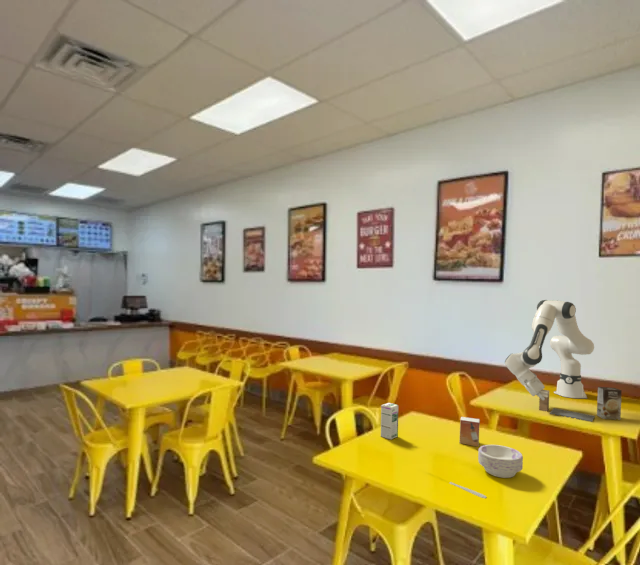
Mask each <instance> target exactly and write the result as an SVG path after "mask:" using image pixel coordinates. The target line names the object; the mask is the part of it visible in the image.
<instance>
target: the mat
mask: <svg viewBox="0 0 640 565" xmlns="http://www.w3.org/2000/svg"><path fill="white" fill-rule="evenodd" d="M549 414H550V415H554V414H555V415H554V416H559V415H561V416H560V417H564V416H566V418H569V417H571V418H570V419H574V418H576V419H575V420H580V419H581V421H586V422H590V423H592V422H593V420H594V419H595V417H596V416H595V415H592V414H587V413H584V412H583V413H581V412H577V411H570V410H565V409H562V408H561V409H560V408H555V407H554V408H552V410H551V411H550V412H549Z"/></svg>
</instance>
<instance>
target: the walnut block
mask: <svg viewBox="0 0 640 565" xmlns="http://www.w3.org/2000/svg"><path fill="white" fill-rule="evenodd" d="M540 393H541V395H542V396H544V397H545V400H542V399H541V398H539V397H538V398H539V399H538V400H539V401H538V403H539V404H538V405H539V406H538V411H543V412H546V411H547V412H548V411H549V408H550V390H548V389H547V390H546V389H543V390H541V391H540Z"/></svg>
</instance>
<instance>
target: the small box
mask: <svg viewBox="0 0 640 565" xmlns="http://www.w3.org/2000/svg"><path fill="white" fill-rule="evenodd" d="M480 421H481V420H480V418H473V417H465V416H461V417H460V422H459V444H462V445H468V446H474V447H479V446H480V444H479V442H480Z"/></svg>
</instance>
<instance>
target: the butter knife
mask: <svg viewBox="0 0 640 565" xmlns="http://www.w3.org/2000/svg"><path fill="white" fill-rule="evenodd" d="M449 484H450V485H451V486H452V485H453V486H455V487H457V488H458V489H459V488H460V489H462V490H463V491H465V492H468V493H471V494H472V495H474V496H477V497H479V498H481V499H487V496H486V495H484V494H483V493H480V492H477V491H476V490H472V489H469V488H468V487H464V486H462V485H460V484H459V485H458V484H456V483H454V482H452V481H450V482H449Z"/></svg>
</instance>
